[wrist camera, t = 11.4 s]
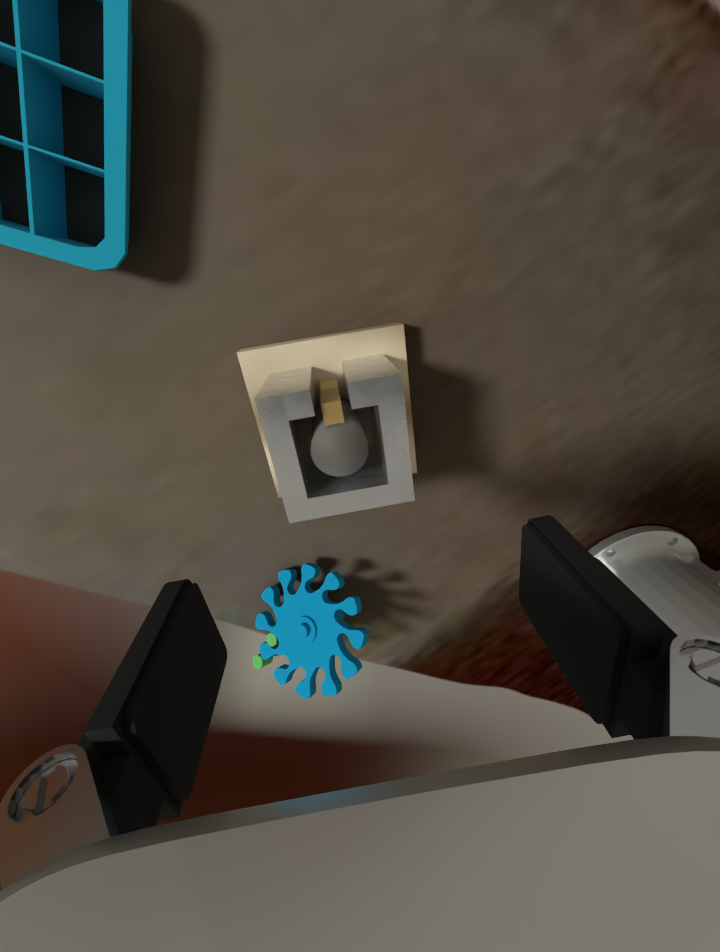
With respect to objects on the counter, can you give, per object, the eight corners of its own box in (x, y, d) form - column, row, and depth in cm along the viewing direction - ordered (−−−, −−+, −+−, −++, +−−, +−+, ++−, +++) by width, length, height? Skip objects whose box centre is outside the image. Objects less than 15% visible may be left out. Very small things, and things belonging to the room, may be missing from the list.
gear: (325, 542, 29) (383, 676, 25) (359, 539, 34) (411, 650, 31) (226, 601, 32) (266, 725, 29) (271, 590, 37) (309, 694, 34)
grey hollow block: (394, 457, 26) (414, 500, 21) (295, 475, 26) (289, 523, 21) (382, 353, 23) (402, 373, 18) (269, 373, 23) (254, 399, 18)
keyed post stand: (412, 464, 28) (439, 513, 22) (280, 487, 28) (269, 544, 22) (398, 321, 24) (427, 333, 17) (241, 349, 23) (213, 370, 17)
